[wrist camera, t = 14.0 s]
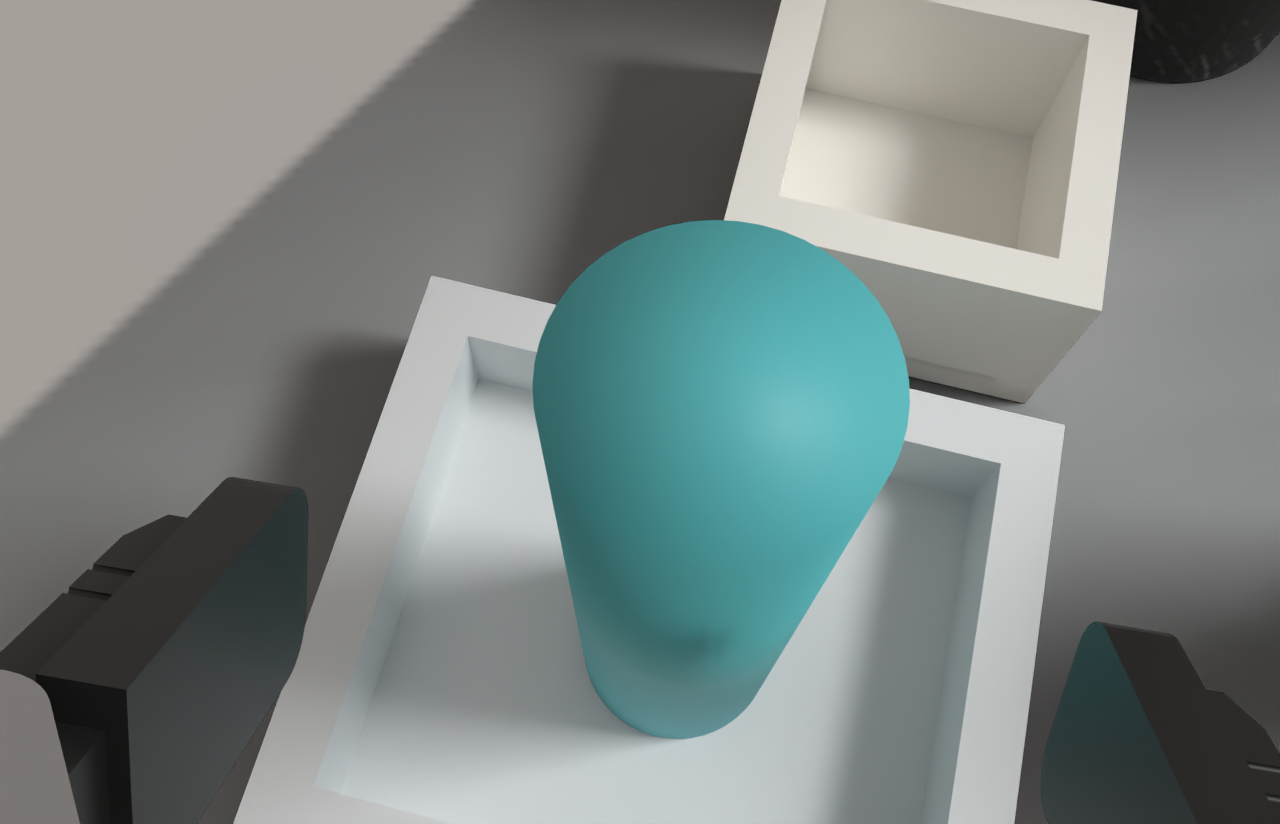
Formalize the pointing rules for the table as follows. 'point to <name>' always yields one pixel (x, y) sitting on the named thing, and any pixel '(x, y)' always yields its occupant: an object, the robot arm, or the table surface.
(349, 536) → the tray
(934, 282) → the square box
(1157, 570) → the table surface
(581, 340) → the dowel
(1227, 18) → the travel mug
